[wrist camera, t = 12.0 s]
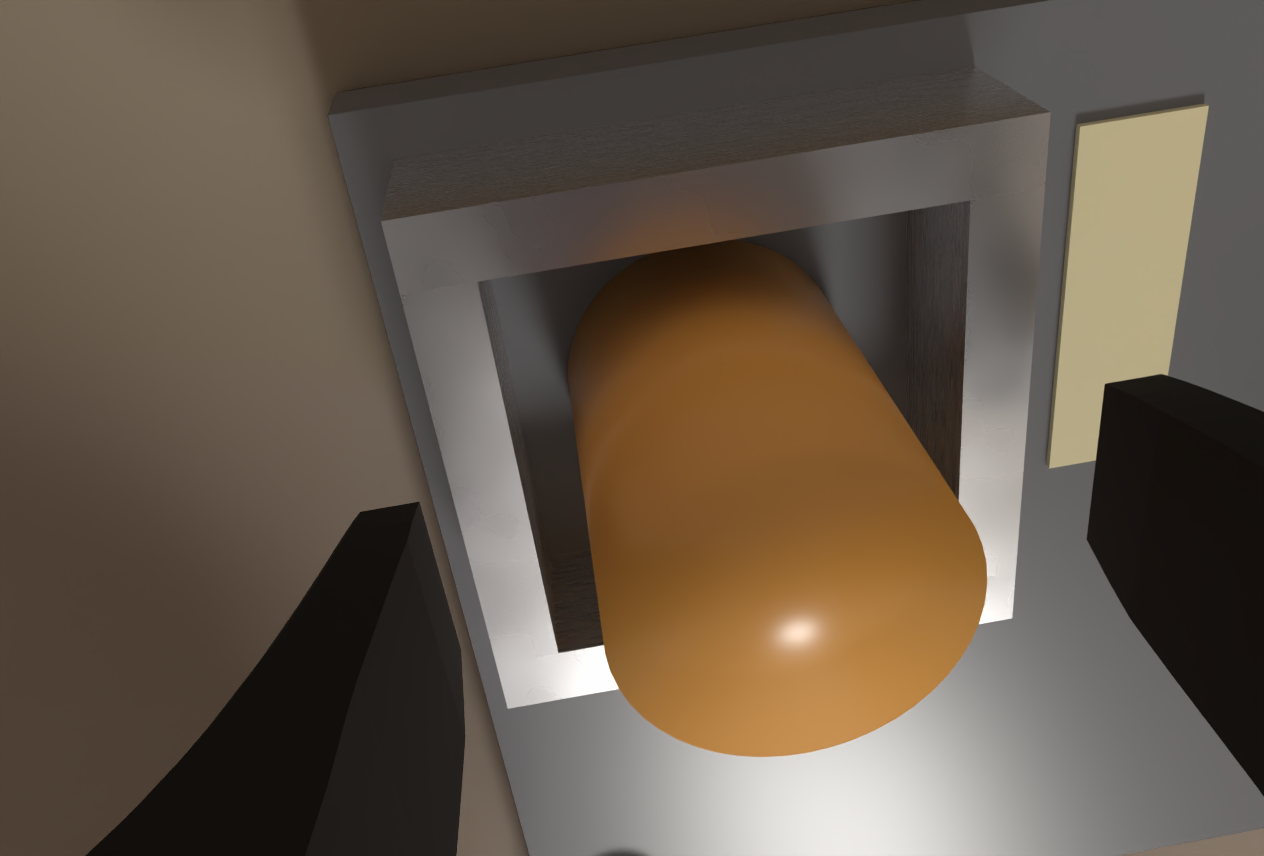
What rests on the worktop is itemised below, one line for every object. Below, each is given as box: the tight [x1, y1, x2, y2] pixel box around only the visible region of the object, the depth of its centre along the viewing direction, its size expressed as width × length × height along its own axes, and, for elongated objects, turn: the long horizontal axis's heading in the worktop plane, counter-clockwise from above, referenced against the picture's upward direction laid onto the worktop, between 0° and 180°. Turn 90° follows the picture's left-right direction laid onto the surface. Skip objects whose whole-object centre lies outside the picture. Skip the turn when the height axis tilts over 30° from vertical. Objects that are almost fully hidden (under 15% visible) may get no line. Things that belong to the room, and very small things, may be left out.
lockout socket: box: [381, 66, 1051, 709], centre depth 14 cm, size 7×7×2 cm
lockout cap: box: [568, 240, 987, 757], centre depth 12 cm, size 4×4×5 cm
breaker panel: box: [327, 0, 1264, 856], centre depth 17 cm, size 16×18×2 cm
